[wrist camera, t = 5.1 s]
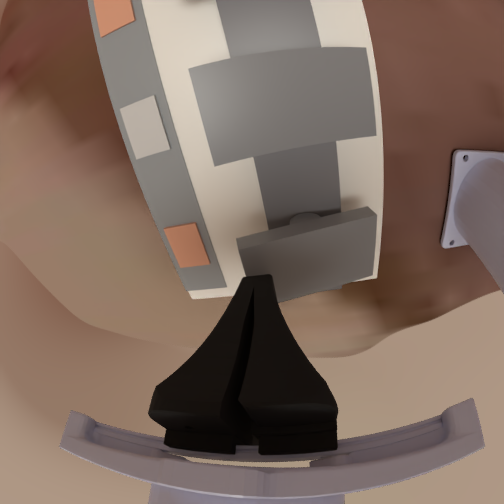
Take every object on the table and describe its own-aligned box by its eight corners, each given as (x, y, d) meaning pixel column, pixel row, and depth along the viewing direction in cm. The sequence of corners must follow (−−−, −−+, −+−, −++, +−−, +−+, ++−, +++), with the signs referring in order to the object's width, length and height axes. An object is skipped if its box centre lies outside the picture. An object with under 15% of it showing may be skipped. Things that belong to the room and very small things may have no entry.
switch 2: (360, 199, 14) (377, 214, 12) (359, 257, 16) (372, 275, 15) (234, 230, 14) (237, 249, 12) (250, 287, 16) (255, 308, 15)
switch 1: (346, 50, 9) (366, 47, 8) (357, 128, 12) (376, 135, 10) (191, 71, 9) (188, 68, 8) (213, 155, 12) (214, 166, 10)
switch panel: (319, -85, 5) (327, -107, 2) (371, 265, 20) (382, 292, 17) (96, -29, 7) (70, -38, 5) (195, 286, 22) (187, 313, 20)
